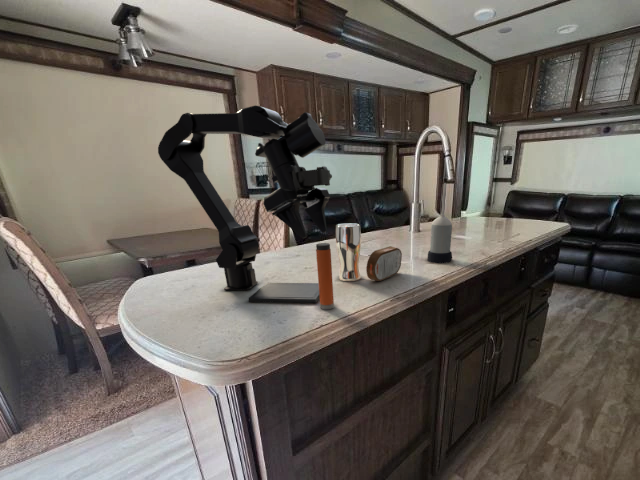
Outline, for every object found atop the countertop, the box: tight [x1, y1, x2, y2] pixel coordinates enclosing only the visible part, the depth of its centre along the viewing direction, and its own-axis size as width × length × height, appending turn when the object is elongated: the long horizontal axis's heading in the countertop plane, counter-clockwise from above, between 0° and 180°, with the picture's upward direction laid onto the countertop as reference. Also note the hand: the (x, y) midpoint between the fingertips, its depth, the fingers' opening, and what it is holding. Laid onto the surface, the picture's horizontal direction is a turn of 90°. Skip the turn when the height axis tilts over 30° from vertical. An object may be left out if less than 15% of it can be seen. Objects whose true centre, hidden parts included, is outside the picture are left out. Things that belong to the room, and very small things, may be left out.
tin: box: [365, 245, 403, 282], centre depth 89 cm, size 15×3×8 cm, turn 144°
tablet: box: [248, 282, 320, 304], centre depth 78 cm, size 16×12×1 cm
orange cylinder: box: [315, 242, 335, 310], centre depth 68 cm, size 3×3×14 cm
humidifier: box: [427, 182, 453, 264], centre depth 104 cm, size 8×8×25 cm
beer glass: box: [335, 222, 362, 282], centre depth 88 cm, size 7×7×15 cm
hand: (315, 234), depth 72 cm, fingers open, 9 cm apart
